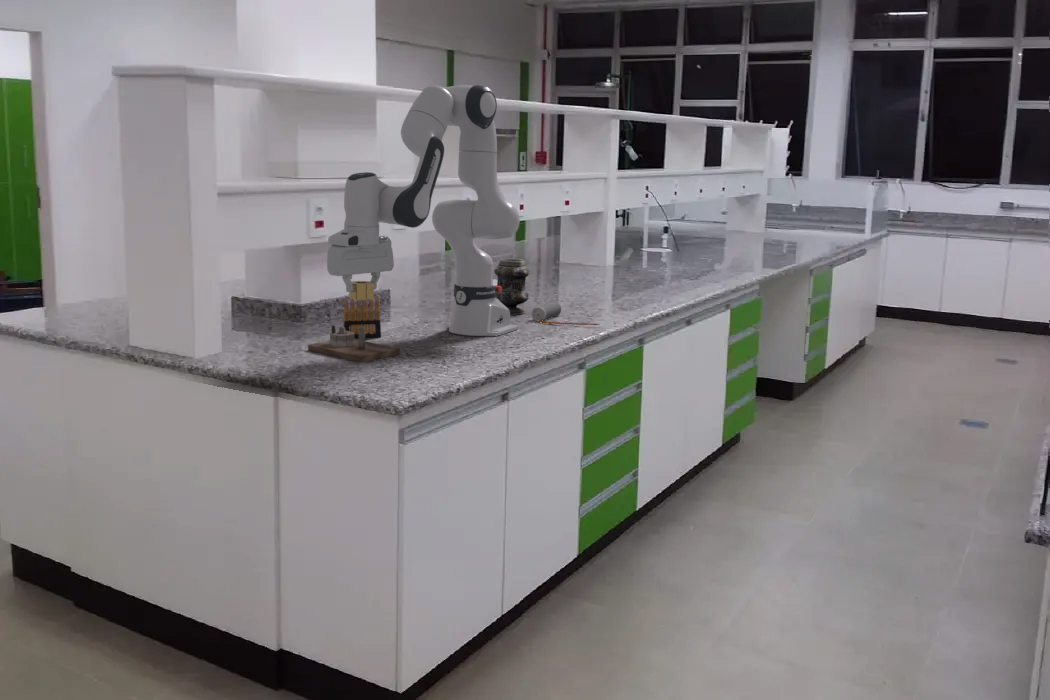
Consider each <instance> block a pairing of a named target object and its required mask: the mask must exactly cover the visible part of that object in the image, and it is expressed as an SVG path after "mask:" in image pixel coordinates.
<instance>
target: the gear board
mask: <svg viewBox="0 0 1050 700" xmlns="http://www.w3.org/2000/svg"><path fill="white" fill-rule="evenodd" d="M338 329H339V330H336V325H331V331H330V333H329V335H330V336H329V337H330V338H329V340H327V341H321V342H317V343H310V344H307V347H308V348H307V350H308V351H310V352H313V353H314V352H315V353H318V354H323V355H327V356H332V357H335V358H341V359H344V360H348V361H353V362H357V363H364V362H369V361H373V360H379V359H384V358H389V357H393V356H394V357H395V356H397V355H400V354H401V349H400V348H398V347H394V346H389V345H383V344H379V343H376V342H375V343H374V342H371V341H366V338H365V328H364V327H360V328H359V338H356V339H354V332H350V330H349V331H345V327H343V325H342V326H340V327H338Z"/></svg>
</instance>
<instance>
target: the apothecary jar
mask: <svg viewBox="0 0 1050 700" xmlns="http://www.w3.org/2000/svg"><path fill="white" fill-rule="evenodd" d="M493 274H495V275H496V276H497V279H496V281H497V282H496V283H497V284H496V286H501V287H502V288H501V289H502V291H501V292H500V293H498V292H496V298H497V299H498V300H499V301H500V302H501V303H502V304H503V305H505V306H506V307H507V308H508V309H509V311H510V314H516V315H523V314H526V311H525V310H524V309H523V308H520V307H518V305H521V304H524V303H526V302H527V301H528V300H529V297H530V295H529V293H528V291H527V290H526V277H528V275H530V269H529V268H528V266H527V265H526V260H524V259H520V258H507V257H506V258H500V259H499V262H498V265H497V266H495V267H494V268H493Z"/></svg>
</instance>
